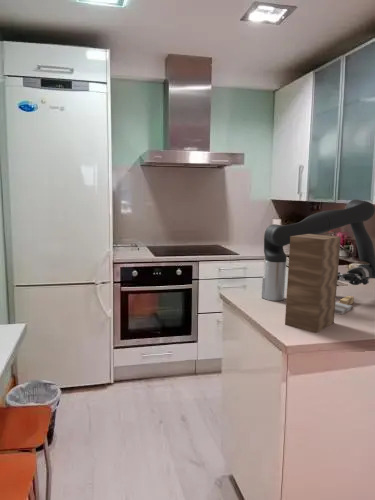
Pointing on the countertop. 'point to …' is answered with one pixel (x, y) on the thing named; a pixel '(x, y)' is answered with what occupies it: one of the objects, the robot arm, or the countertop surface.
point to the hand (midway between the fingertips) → (344, 280)
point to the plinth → (312, 281)
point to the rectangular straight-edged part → (344, 304)
